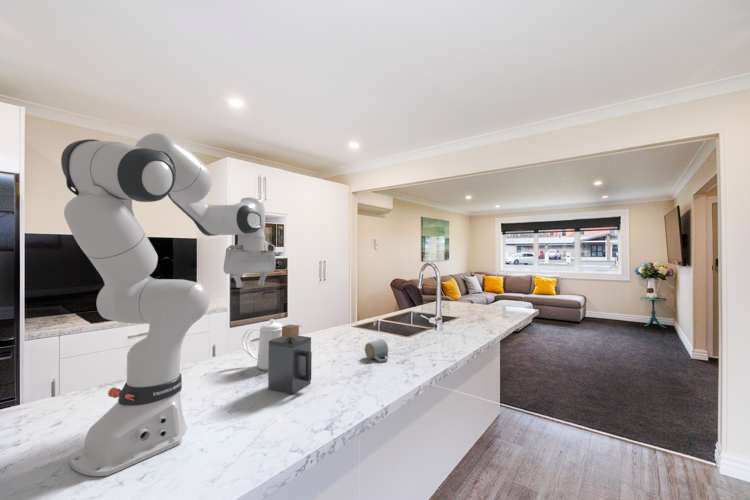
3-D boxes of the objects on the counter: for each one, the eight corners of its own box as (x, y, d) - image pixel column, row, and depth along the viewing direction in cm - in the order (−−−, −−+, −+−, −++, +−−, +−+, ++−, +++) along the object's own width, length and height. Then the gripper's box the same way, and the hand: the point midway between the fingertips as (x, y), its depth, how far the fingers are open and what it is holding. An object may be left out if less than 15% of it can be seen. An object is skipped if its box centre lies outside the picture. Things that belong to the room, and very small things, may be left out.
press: (300, 396, 106) (301, 345, 106) (268, 389, 112) (268, 340, 112) (318, 385, 115) (318, 338, 115) (287, 379, 121) (288, 334, 121)
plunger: (291, 387, 110) (292, 329, 110) (275, 383, 112) (275, 327, 113) (304, 380, 116) (304, 325, 116) (288, 377, 119) (288, 323, 119)
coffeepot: (298, 372, 127) (298, 323, 127) (235, 369, 130) (236, 321, 130) (307, 363, 138) (307, 317, 138) (249, 360, 140) (249, 316, 141)
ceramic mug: (363, 357, 147) (363, 339, 146) (378, 353, 151) (378, 337, 151) (377, 364, 138) (377, 345, 138) (393, 360, 143) (393, 342, 143)
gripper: (233, 244, 104) (232, 289, 104) (278, 247, 123) (278, 284, 122) (219, 244, 107) (218, 288, 107) (265, 247, 125) (265, 283, 125)
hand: (250, 286), depth 115 cm, fingers open, 8 cm apart
